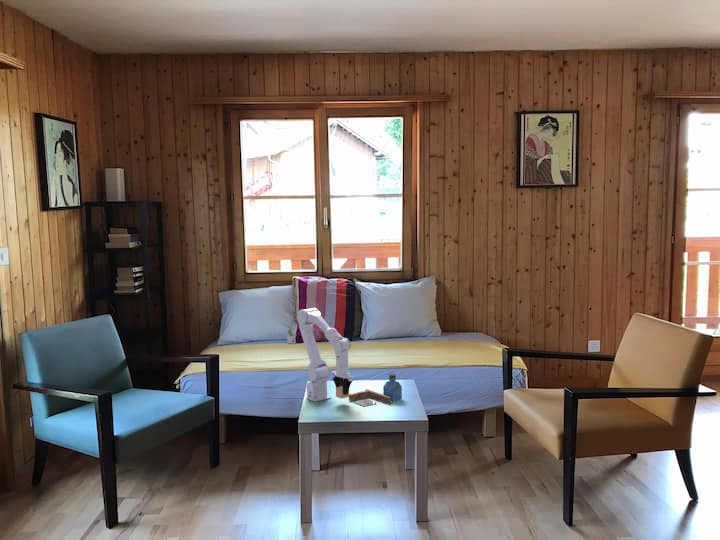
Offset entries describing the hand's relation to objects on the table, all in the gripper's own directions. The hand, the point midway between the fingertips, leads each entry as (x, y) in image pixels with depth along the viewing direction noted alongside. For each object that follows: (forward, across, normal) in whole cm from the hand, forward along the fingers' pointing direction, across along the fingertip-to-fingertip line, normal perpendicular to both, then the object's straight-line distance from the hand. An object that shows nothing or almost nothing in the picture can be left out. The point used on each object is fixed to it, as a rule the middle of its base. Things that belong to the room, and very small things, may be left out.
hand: (342, 393), depth 291 cm
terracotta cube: (+2, 0, 0) cm, 2 cm away
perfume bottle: (+5, -10, -23) cm, 25 cm away
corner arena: (+5, -5, -11) cm, 13 cm away
